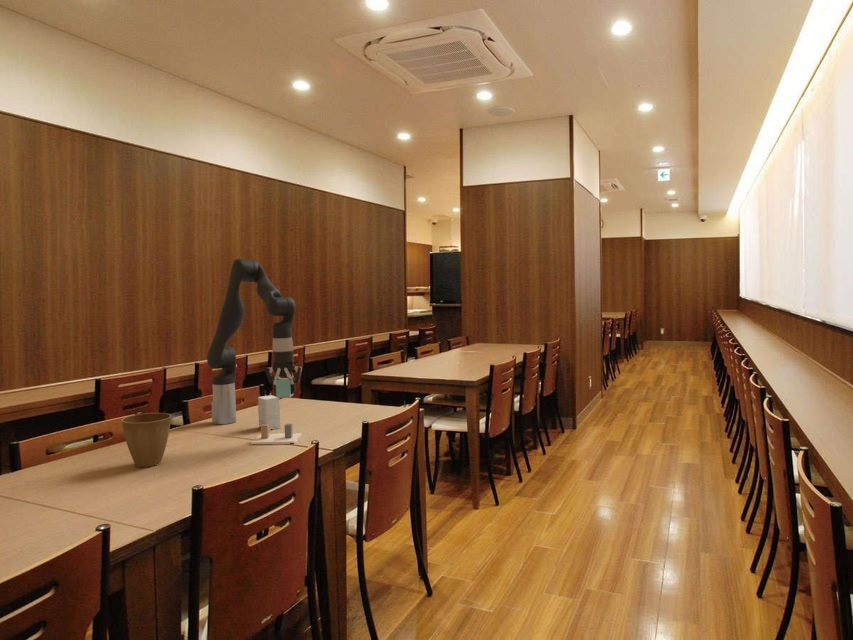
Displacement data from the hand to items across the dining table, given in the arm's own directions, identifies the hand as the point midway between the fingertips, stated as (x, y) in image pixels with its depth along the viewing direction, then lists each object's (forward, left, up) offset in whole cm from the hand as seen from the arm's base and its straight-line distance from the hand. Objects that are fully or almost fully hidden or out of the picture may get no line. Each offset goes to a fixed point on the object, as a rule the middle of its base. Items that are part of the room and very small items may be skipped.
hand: (284, 393), depth 216 cm
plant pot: (-39, -28, -18) cm, 51 cm away
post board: (-4, 0, -18) cm, 18 cm away
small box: (-12, +20, -18) cm, 30 cm away
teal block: (0, 0, -1) cm, 1 cm away
